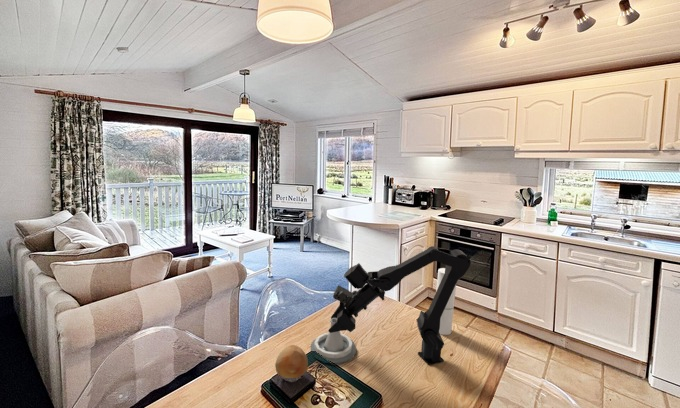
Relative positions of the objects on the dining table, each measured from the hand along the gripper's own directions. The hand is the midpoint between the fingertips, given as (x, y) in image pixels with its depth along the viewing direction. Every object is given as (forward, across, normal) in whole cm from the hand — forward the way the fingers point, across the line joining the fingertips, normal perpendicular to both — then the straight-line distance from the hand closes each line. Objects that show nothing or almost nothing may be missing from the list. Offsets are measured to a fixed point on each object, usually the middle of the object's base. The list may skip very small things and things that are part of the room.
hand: (330, 324), depth 108 cm
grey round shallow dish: (+6, 0, +8) cm, 9 cm away
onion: (+14, +16, 0) cm, 21 cm away
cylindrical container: (-24, -19, +38) cm, 49 cm away
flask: (+5, 0, +7) cm, 8 cm away
